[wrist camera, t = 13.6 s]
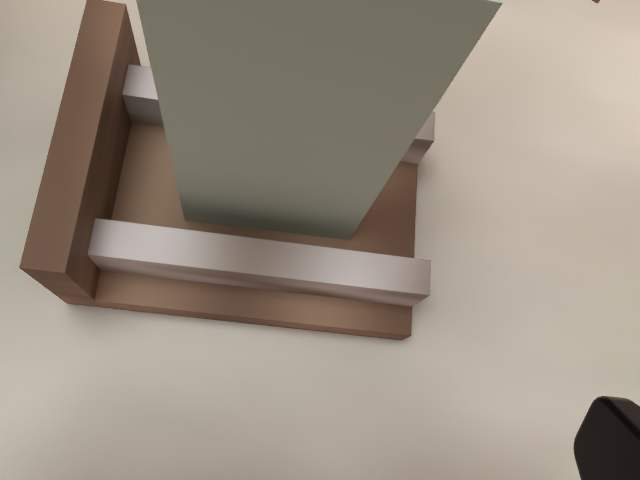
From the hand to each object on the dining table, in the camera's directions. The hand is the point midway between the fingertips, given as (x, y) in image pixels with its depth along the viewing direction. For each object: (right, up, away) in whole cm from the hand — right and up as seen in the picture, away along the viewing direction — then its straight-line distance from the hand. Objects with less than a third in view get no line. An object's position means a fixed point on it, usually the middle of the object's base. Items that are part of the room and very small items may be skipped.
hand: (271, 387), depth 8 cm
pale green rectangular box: (-1, +3, +14) cm, 15 cm away
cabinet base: (-1, +3, +15) cm, 16 cm away
